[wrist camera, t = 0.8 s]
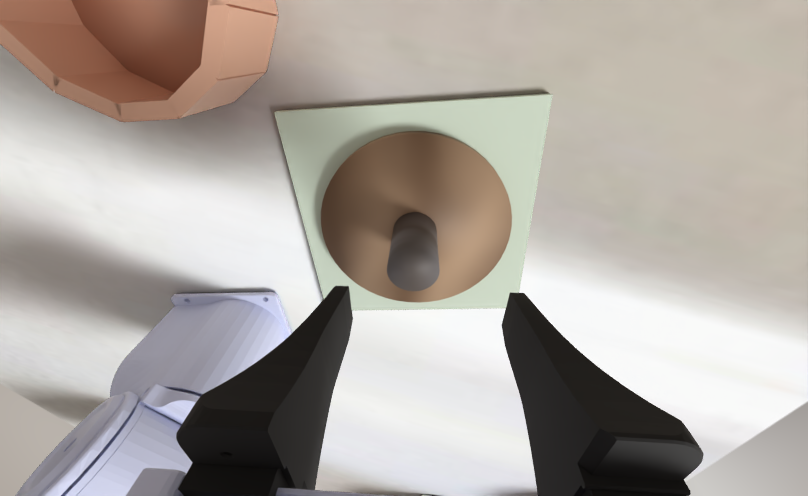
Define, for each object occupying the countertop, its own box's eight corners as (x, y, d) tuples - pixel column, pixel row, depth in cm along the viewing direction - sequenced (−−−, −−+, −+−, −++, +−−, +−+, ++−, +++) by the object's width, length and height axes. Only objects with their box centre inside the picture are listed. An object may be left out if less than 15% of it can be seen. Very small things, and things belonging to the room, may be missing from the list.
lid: (340, 297, 26) (324, 348, 22) (304, 136, 19) (269, 163, 15) (499, 294, 25) (515, 347, 21) (521, 124, 18) (552, 149, 14)
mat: (328, 306, 28) (326, 310, 27) (277, 110, 19) (274, 112, 19) (514, 303, 26) (516, 308, 26) (549, 93, 18) (552, 94, 17)
